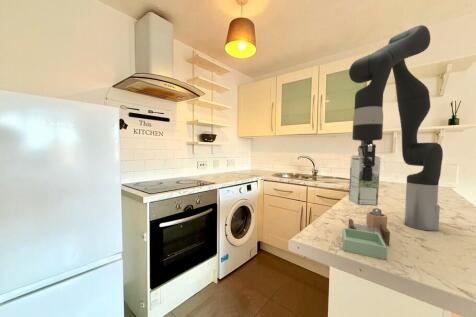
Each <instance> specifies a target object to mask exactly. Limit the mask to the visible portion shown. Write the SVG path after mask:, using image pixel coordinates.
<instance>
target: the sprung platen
mask: <svg viewBox="0 0 476 317" xmlns="http://www.w3.org/2000/svg"><path fill="white" fill-rule="evenodd" d="M354 228H355V230H361V231H367V232H373V233H379V234H380V236H381V238H382V234H381V232H380V231H379V229H378V227H372V226H366V224H359V223H354Z"/></svg>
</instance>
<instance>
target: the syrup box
mask: <svg viewBox="0 0 476 317" xmlns="http://www.w3.org/2000/svg"><path fill="white" fill-rule="evenodd" d="M361 158H362V157H361V156H358V155H351V156H350V168H349V170H350V171H349V185H348V186H349V189H348V190H349V191H348V201H350V202H351V203H354V204H355V205H357V206H373V207H374V206H378V202H379V187H380V174H381V173H380V172H381V157H380V156H376V155H375V165H374V167H373V168H372V181H363V180H362V175H363V166H362V165H363V160H362V159H361ZM366 162H370V161H367V160H366Z"/></svg>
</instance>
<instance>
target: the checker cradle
mask: <svg viewBox="0 0 476 317" xmlns="http://www.w3.org/2000/svg"><path fill="white" fill-rule="evenodd" d="M347 227H348V229H355V223H354V219H351V218H348V226H347ZM380 232H381V234H382V239H383V241H384V243H385V245H386V246H390V241H391V240H390V238H391V232H390V230H389V228H388V226H387V227H386V226H385V225H384V224H381V223H380Z"/></svg>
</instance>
